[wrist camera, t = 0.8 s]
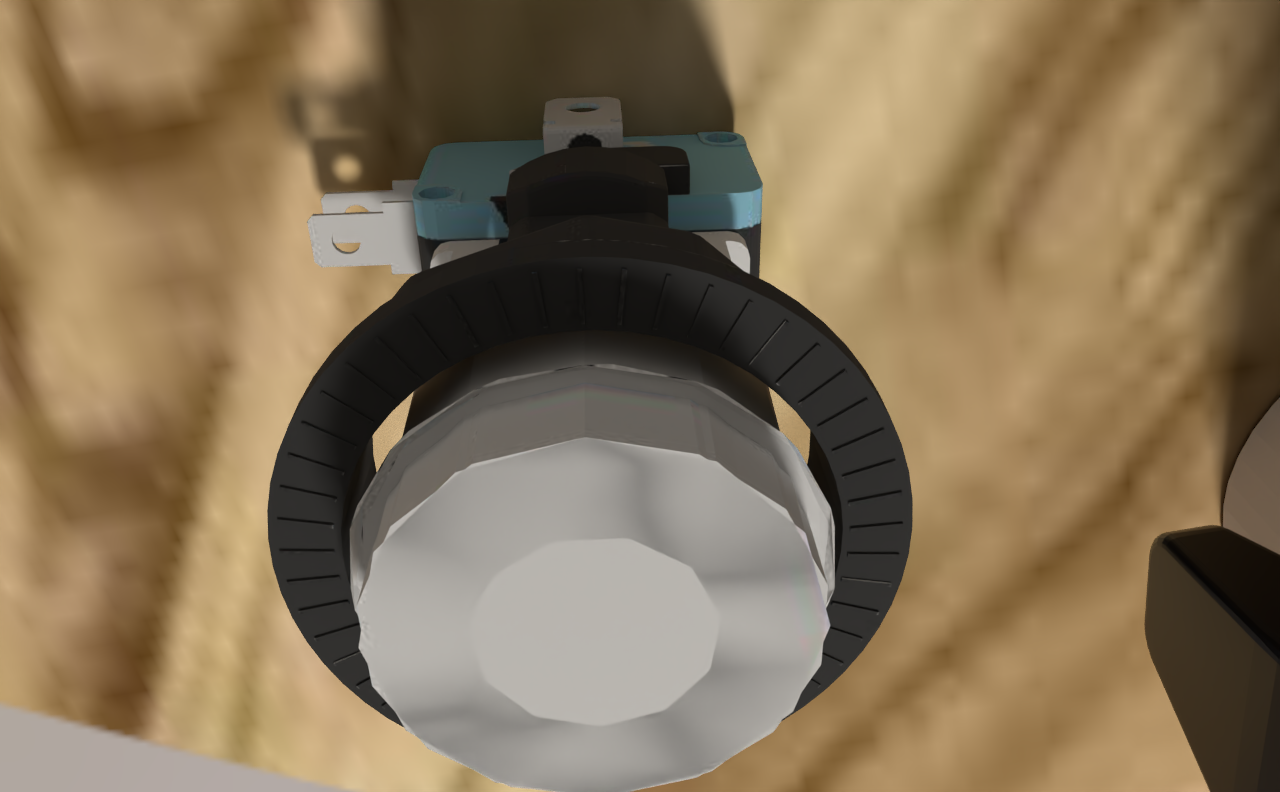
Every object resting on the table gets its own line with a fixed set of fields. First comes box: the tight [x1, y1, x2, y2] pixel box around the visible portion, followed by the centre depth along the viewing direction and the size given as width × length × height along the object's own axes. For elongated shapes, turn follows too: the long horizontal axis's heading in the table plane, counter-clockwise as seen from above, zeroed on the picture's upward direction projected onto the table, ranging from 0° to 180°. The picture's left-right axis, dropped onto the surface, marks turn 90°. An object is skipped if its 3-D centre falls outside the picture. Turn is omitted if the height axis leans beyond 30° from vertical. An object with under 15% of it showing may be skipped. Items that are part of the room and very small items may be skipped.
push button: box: [267, 97, 912, 792], centre depth 12 cm, size 7×5×10 cm
